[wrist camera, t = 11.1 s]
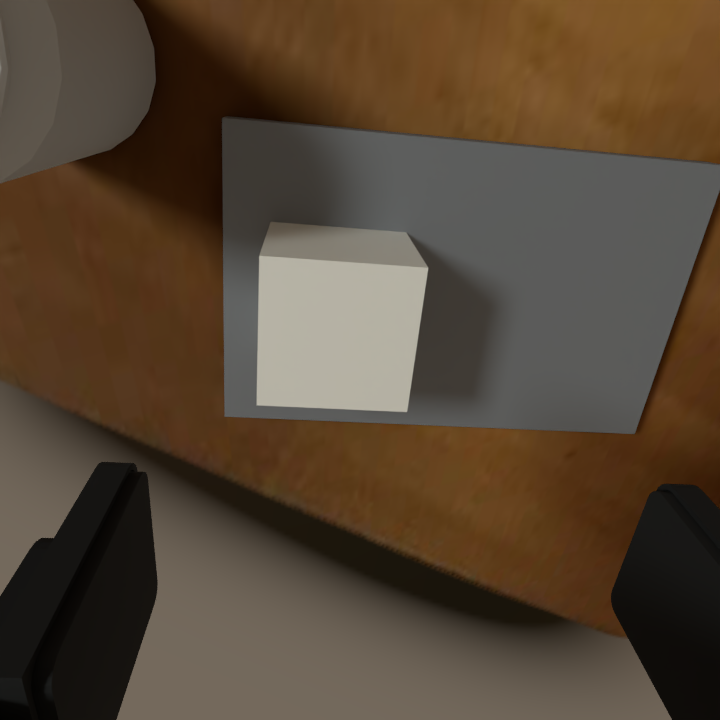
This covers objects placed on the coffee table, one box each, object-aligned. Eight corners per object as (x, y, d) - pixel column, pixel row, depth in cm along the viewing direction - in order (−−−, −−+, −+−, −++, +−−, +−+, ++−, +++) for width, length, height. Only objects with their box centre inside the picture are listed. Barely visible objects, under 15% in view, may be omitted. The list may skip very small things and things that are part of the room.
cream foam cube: (406, 232, 26) (428, 267, 20) (390, 353, 28) (407, 412, 23) (270, 221, 25) (259, 255, 20) (267, 347, 27) (256, 405, 22)
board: (707, 162, 27) (728, 165, 25) (621, 419, 33) (634, 433, 31) (227, 116, 24) (221, 117, 23) (228, 401, 30) (224, 416, 29)
